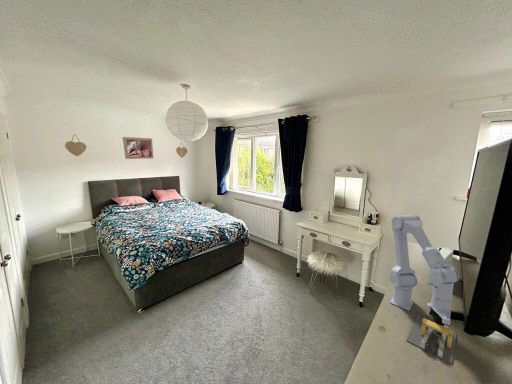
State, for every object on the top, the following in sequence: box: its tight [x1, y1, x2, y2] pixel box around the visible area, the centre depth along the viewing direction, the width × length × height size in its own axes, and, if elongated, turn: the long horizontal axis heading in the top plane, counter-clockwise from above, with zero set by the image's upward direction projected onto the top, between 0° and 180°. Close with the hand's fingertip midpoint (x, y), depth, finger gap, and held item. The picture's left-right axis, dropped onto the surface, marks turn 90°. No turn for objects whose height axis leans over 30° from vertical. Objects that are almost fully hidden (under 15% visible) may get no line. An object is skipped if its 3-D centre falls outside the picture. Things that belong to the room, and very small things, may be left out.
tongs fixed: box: [434, 324, 449, 359], centre depth 80 cm, size 16×3×2 cm, turn 133°
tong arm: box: [420, 328, 434, 352], centre depth 81 cm, size 12×2×2 cm, turn 128°
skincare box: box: [427, 247, 454, 285], centre depth 121 cm, size 21×6×16 cm, turn 126°
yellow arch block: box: [421, 317, 455, 348], centre depth 81 cm, size 3×9×6 cm, turn 43°
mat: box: [406, 316, 458, 365], centre depth 83 cm, size 18×13×1 cm
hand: (438, 327), depth 83 cm, fingers closed
